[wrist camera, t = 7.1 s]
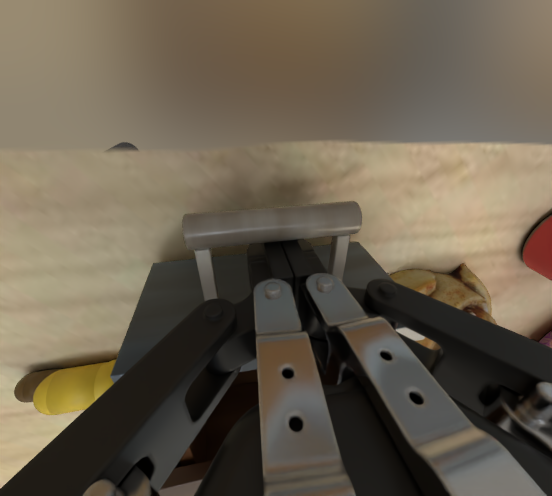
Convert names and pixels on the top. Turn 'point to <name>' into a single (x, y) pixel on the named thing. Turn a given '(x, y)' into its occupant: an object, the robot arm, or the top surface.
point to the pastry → (449, 292)
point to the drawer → (239, 289)
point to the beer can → (540, 249)
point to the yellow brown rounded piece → (65, 387)
